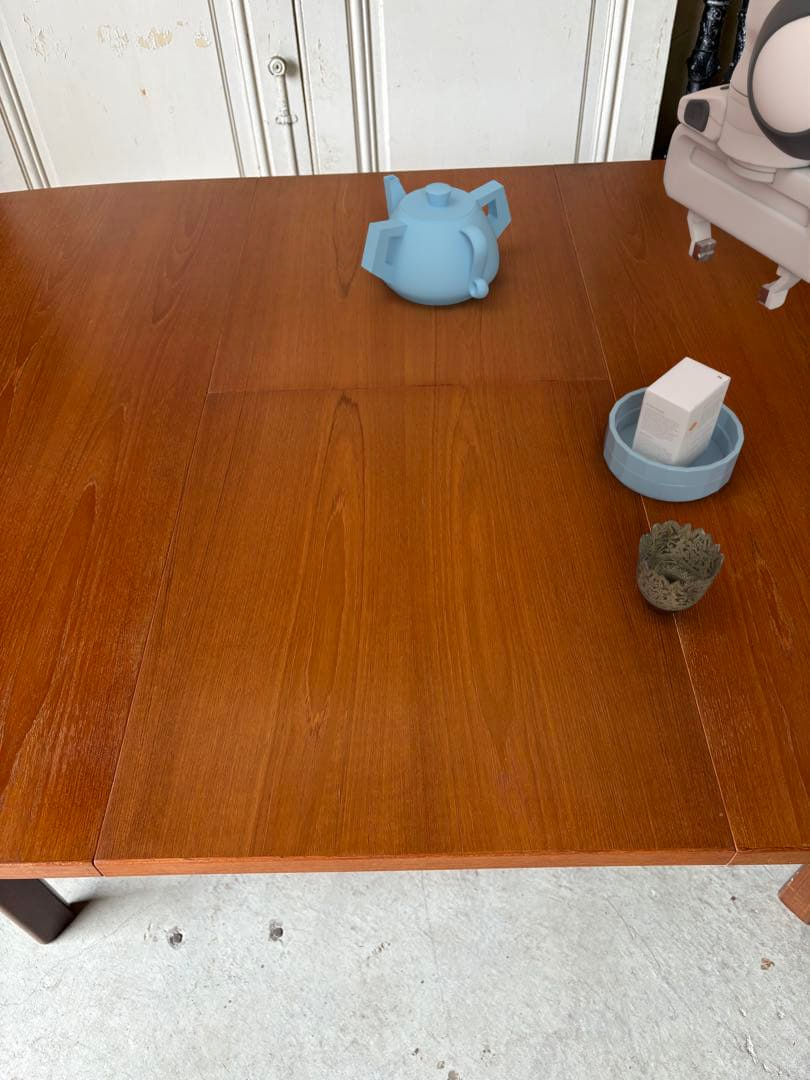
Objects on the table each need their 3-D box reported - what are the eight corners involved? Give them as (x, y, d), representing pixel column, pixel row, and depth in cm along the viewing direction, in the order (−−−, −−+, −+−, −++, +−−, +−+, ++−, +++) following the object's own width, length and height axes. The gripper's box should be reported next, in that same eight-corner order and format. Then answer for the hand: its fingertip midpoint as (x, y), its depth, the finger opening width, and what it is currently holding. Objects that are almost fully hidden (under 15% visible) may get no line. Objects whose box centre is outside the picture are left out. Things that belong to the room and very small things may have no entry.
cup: (670, 647, 77) (690, 595, 71) (609, 601, 80) (623, 548, 74) (717, 604, 80) (740, 551, 74) (655, 562, 84) (673, 508, 78)
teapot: (509, 253, 125) (515, 162, 115) (489, 323, 113) (494, 228, 103) (389, 242, 129) (384, 153, 118) (356, 309, 116) (348, 216, 106)
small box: (666, 428, 96) (686, 354, 88) (708, 450, 94) (733, 376, 86) (626, 461, 93) (644, 387, 85) (668, 485, 90) (690, 411, 82)
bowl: (758, 477, 91) (772, 444, 88) (654, 520, 87) (664, 487, 84) (676, 405, 100) (685, 372, 96) (578, 441, 96) (584, 408, 92)
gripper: (913, 163, 60) (845, 325, 70) (724, 78, 73) (689, 227, 83) (848, 182, 58) (788, 346, 68) (667, 92, 71) (639, 242, 81)
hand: (733, 280), depth 76 cm, fingers open, 8 cm apart
